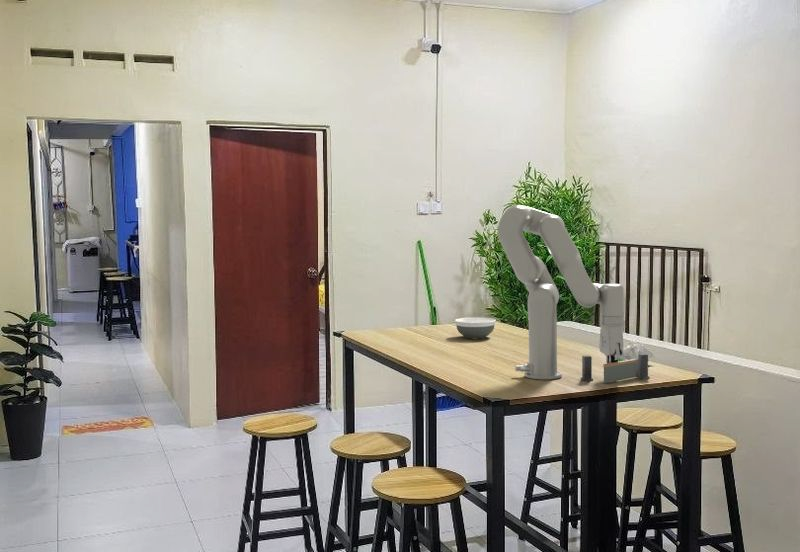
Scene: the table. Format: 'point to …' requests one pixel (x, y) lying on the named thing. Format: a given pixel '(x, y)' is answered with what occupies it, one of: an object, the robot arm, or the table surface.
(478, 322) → the bowl
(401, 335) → the table surface
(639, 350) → the crumpled plastic bottle
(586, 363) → the gate posts
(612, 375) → the gate leaf
